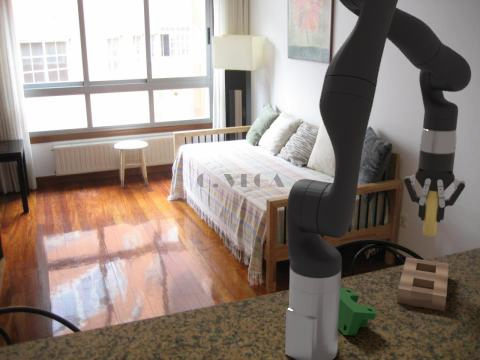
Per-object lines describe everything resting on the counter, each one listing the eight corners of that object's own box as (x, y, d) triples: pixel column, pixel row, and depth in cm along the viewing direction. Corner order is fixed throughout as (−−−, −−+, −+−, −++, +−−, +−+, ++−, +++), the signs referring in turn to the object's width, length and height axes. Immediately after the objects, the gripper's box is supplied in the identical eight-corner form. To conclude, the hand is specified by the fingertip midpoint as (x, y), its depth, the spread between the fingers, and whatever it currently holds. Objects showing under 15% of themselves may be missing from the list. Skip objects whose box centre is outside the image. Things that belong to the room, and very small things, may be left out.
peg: (432, 237, 121) (437, 192, 118) (420, 234, 123) (424, 190, 120) (438, 233, 123) (442, 189, 120) (425, 230, 125) (429, 187, 122)
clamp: (362, 349, 106) (383, 320, 102) (337, 348, 104) (357, 319, 99) (341, 302, 116) (360, 275, 111) (318, 301, 113) (336, 272, 109)
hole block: (444, 311, 112) (446, 296, 111) (396, 302, 116) (398, 288, 115) (447, 276, 128) (448, 263, 127) (405, 270, 132) (406, 257, 131)
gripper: (471, 147, 118) (462, 219, 123) (406, 143, 123) (401, 211, 128) (471, 154, 111) (462, 229, 116) (403, 149, 116) (397, 221, 121)
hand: (430, 219), depth 122 cm, fingers closed on peg, 3 cm apart
